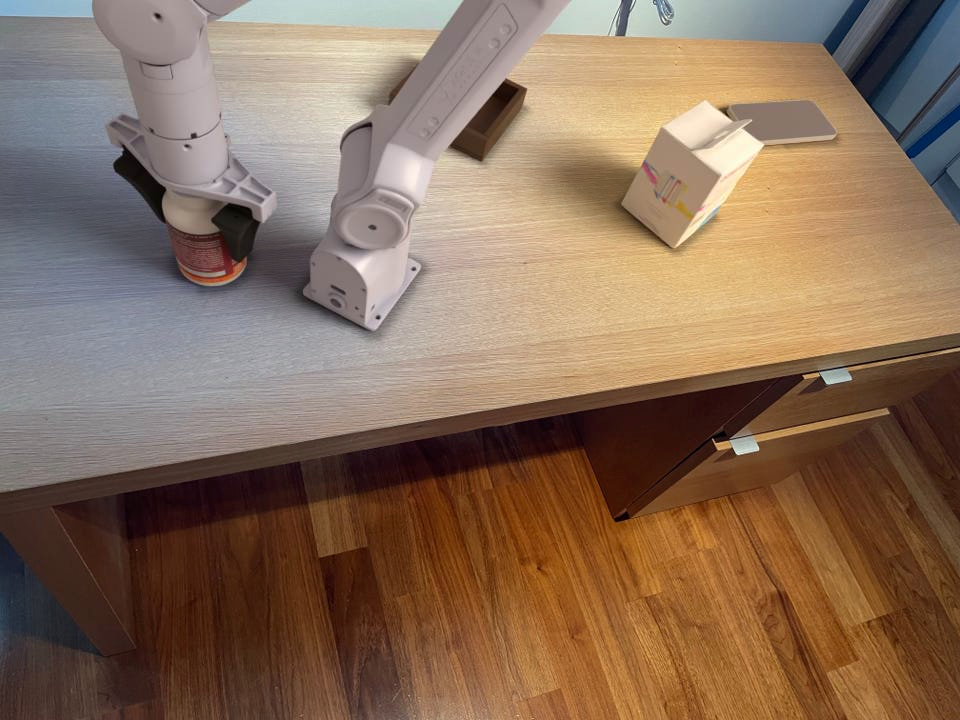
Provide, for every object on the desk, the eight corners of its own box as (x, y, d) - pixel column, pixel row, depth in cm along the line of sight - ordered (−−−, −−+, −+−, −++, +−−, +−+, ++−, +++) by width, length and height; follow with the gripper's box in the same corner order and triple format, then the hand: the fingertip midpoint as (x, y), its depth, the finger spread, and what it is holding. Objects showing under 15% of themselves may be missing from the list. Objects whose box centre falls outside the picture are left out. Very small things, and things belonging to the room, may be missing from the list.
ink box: (660, 175, 84) (712, 83, 72) (713, 218, 81) (775, 129, 70) (618, 205, 80) (666, 112, 68) (673, 251, 77) (732, 162, 66)
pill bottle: (249, 286, 64) (236, 205, 55) (179, 291, 63) (153, 208, 53) (245, 235, 67) (232, 150, 58) (178, 239, 65) (153, 151, 56)
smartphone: (840, 135, 94) (753, 142, 89) (836, 140, 94) (749, 147, 90) (812, 98, 97) (726, 103, 92) (808, 104, 98) (723, 109, 93)
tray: (481, 161, 79) (487, 141, 76) (387, 114, 80) (389, 93, 77) (521, 108, 85) (527, 88, 83) (433, 65, 86) (436, 44, 84)
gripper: (296, 126, 52) (301, 243, 63) (135, 45, 53) (169, 173, 64) (238, 181, 48) (255, 294, 59) (66, 91, 49) (115, 219, 60)
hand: (207, 235), depth 62 cm, fingers open, 7 cm apart
